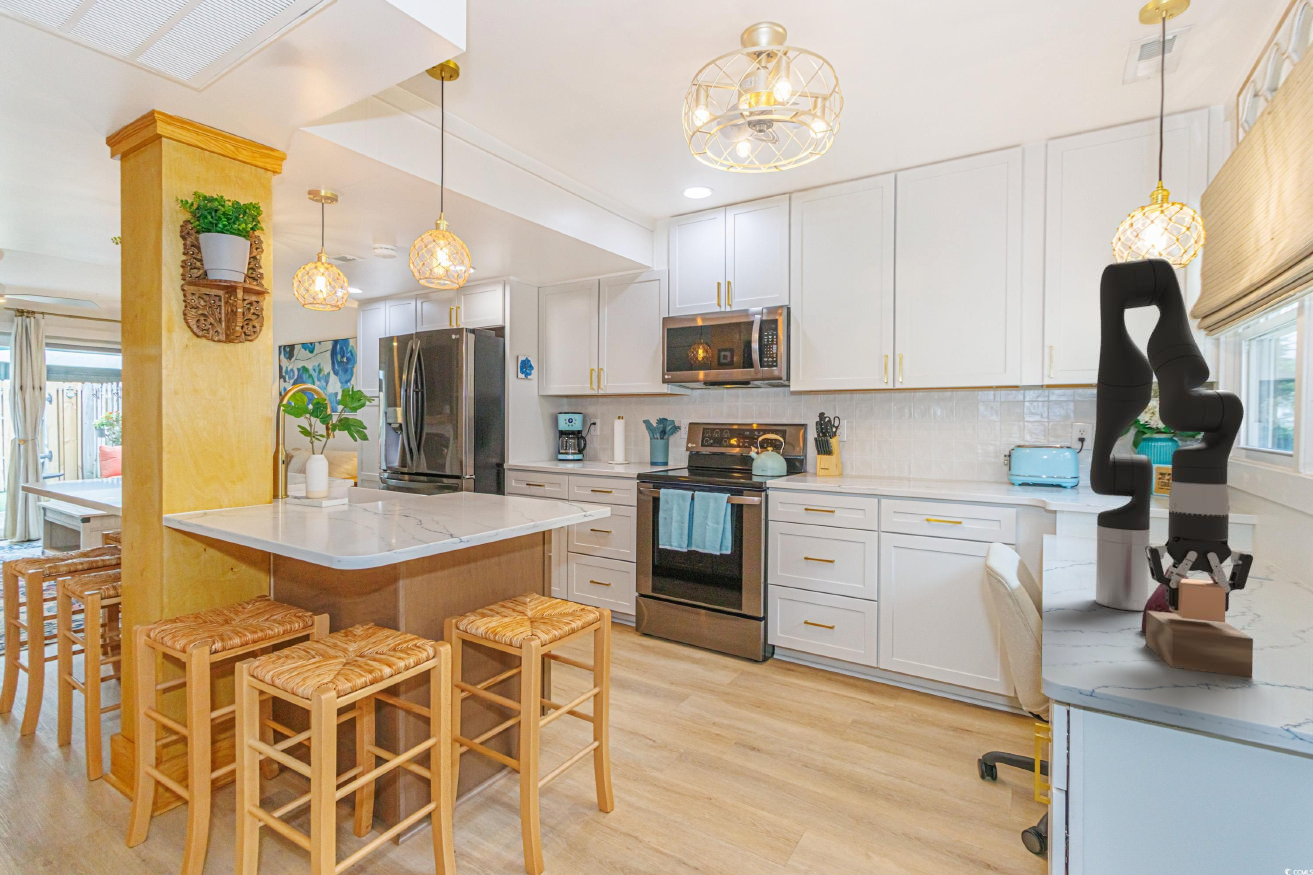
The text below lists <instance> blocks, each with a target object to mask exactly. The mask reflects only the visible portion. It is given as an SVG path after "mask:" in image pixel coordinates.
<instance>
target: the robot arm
mask: <svg viewBox="0 0 1313 875" xmlns="http://www.w3.org/2000/svg"><path fill="white" fill-rule="evenodd" d="M1152 306H1155V307H1156V308H1157V309H1158V311H1159V316H1158V319H1157V322H1156V324H1155V326H1154V329H1153V330H1152V332H1151V334H1150V336H1149V339H1148V342H1147V345H1146V355H1147V356H1146V355H1145V354H1144V352H1143V351H1142V350H1141V349H1140V348H1139V347H1138V345H1137V344H1136V343H1135V342H1134V340H1133V339H1132V336H1131V335H1130V334H1129V331H1128V329H1127V326H1126V320H1125V312H1126V310H1129V309H1137V308H1138V309H1139V308H1145V307H1152ZM1099 311H1100V316H1099V317H1100V347H1099V348H1100V350H1099V359H1098V360H1099V361H1098V372H1097V381H1096V403H1095V404H1096V405H1095V408H1096V412H1095V413H1096V415H1095V416H1096V418H1095V419H1096V420H1095V432H1094V438H1093V441H1094V442H1093V448H1092V453H1091V454H1092V455H1091V463H1090V471H1089V482H1090V488H1091V490H1092V491H1093V492H1094V493H1095V494H1096V495H1100V496H1113V497H1115V496H1116V497H1131V499H1130V501H1129V502H1127V503H1126V504H1123V505H1122V506H1120V507H1117V508H1111V509H1107V510H1104V511H1100V512H1099V513H1098V514H1097V517H1096V522H1097V523H1096V568H1095V569H1096V576H1095V577H1096V579H1095V602H1096V603H1097V604H1098V605H1099V604H1100V605H1102V606H1105V607H1108V608H1112V609H1113V608H1114V609H1118V610H1123V611H1124V610H1126V611H1144V607H1145V605H1146V603H1147V601H1148V599H1149V592H1150V591H1149V587H1150V586H1149V584H1150V581H1149V578H1150V576H1151V579H1152V580H1154V581H1156V582H1157V583H1159V584H1160V583H1162V584H1164V585H1165V587H1166V591H1165V595H1166V596H1165V602H1166V604H1167V605H1169V606H1170V608H1171V609H1172V610H1177V611H1178V604H1179V589H1178V586H1179V583H1180V582H1181V580H1182V578H1183V577H1185V576H1186V575H1187V574H1188V572H1197V571H1199V572H1200V571H1201V572H1203V573H1207V575H1208V576H1209V578H1210V579H1211V580H1210V581H1211V582H1213V583H1215V584H1218V585H1219V586H1222V587H1224V588H1226V600H1225V613H1226V612H1228V610H1230V609H1229V608H1230V605H1229V604H1230V603H1229V602H1230V593H1231V592H1233V591H1237V590H1239V591H1241V590H1244V589H1245V588H1246V583H1247V581H1248V578H1249V577H1248V576H1249V574H1250V570H1251V568H1252V565H1253V564H1252V563H1253V561H1254V556H1253V555H1252V554H1251V553H1247V552H1244V551H1236V550H1235V551H1234V550H1232V549H1231V547H1230V546H1229V522H1230V521H1229V519H1230V518H1229V517H1230V516H1229V515H1230V514H1229V513H1230V510H1231V508H1230V497H1229V490H1228V467H1229V466H1228V464H1229V463H1228V461H1229V457H1230V454H1231V452H1232V449H1233V446H1234V443H1235V441H1236V438H1237V436H1238V433H1239V430H1240V428H1241V425H1242V422H1243V420H1244V411H1245V410H1244V406H1243V402H1242V400H1241V399H1240V397H1239V396H1238V395H1237V394H1235V393H1234V392H1232V391H1230V390H1224V389H1223V390H1221V389H1219V390H1217V389H1216V390H1215V389H1212V390H1209V389H1208V390H1206V389H1201V390H1199V389H1197V388H1199V387H1201V386H1203V385H1204V384H1205V383H1206V382H1207V381H1208V380H1209V378H1210V375H1211V372H1210V369H1209V365H1208V364H1207V362H1206V359H1205V358H1204V356H1203V354H1202V352H1201V350H1200V348H1199V346H1198V344H1197V342H1196V339H1195V338H1194V336H1193V333H1192V330H1191V327H1190V323H1189V318H1188V314H1187V309H1186V305H1185V301H1184V297H1183V294H1182V289H1181V287H1180V282H1179V278H1178V276H1177V272H1176V270H1175V268H1174V266H1173V264H1172V263H1171V261H1169V259H1167V258H1166V257H1161V256H1159V257H1157V256H1156V257H1155V256H1154V257H1147V258H1146V257H1145V258H1140V259H1134V260H1126V261H1120V262H1115V263H1110V264H1108V265H1106V267H1105V268H1104V269H1103V271H1102V273H1101V277H1100V283H1099ZM1154 376H1155V378H1156V381H1157V385H1158V386H1157V387H1158V417H1159V420H1160V422H1161V423H1162V425H1164V427H1166V429H1168V430H1170V431H1172V432H1177V433H1203V435H1202V437H1201V438H1200V440H1199V442H1198V443H1197V444H1195V445H1191V446H1190V445H1189V446H1184V447H1179V448H1176V449H1174V451H1173V453H1172V454H1171V455H1172V456H1171V473H1170V474H1171V476H1170V478H1171V482H1170V487H1169V488H1170V489H1169V494H1168V497H1169V498H1168V528H1167V529H1168V531H1167V533H1168V534H1167V535H1168V539H1167V541H1166V542H1165V544H1164V545H1159V546H1152V545H1150V527H1151V526H1150V525H1151V524H1150V523H1151V521H1150V520H1151V519H1150V518H1151V517H1150V515H1151V499H1152V498H1151V496H1152V495H1151V494H1152V487H1153V486H1152V485H1153V475H1154V474H1153V473H1154V472H1153V463H1152V460H1151V458H1150V457H1149V456H1147V455H1145V454H1126V453H1123V454H1121V453H1112V452H1113V449H1114V448H1115V445H1116V443H1118V442H1117V441H1118V440H1119V438H1121V436H1122V434H1123V433H1125V431H1126V430H1127V429H1128V428H1129V427H1130V426H1131V425H1132V424H1133V423H1134V422H1135V421H1136V420H1137V419H1138V418H1139V417H1140V416H1141V415H1142V414H1143V413H1144V412H1145V410H1146V409H1147V407H1148V406H1149V404H1150V403H1151V400H1152V393H1153V383H1154ZM1166 553H1167V555H1169V557H1170V558H1171V559H1172V560H1173V561H1172V562H1171V564H1170V565H1171V566H1170V565H1169V566H1170V568H1169V572H1168V574H1167V576H1166V577H1165V576H1164V575H1165V572H1164V568H1163V563H1162V560H1163V559H1164V558H1165V554H1166ZM1228 558H1230V563H1232V568H1231V571H1230V574H1229V578H1228V580H1227V575H1226V573H1225V571H1224V570H1223V567H1222V565H1223V564H1224V563H1225V561H1227V559H1228ZM1176 565H1177V566H1176Z"/></svg>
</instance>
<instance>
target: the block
mask: <svg viewBox="0 0 1313 875" xmlns="http://www.w3.org/2000/svg"><path fill="white" fill-rule="evenodd" d="M1178 589H1179V604H1178V611H1177V610H1172V609H1171V608H1170V606H1169V610H1171V611H1172V612H1174V613H1175V614H1177V615H1178V616H1180V617H1181V618H1186V619H1196V620H1205V621H1215V622H1226V611H1225V600H1226V588H1224V587H1222V586H1219V585H1218V584H1215V583H1213V582H1212V580H1204V579H1203V580H1202V579H1190V578H1189V579H1182V580H1181V582H1180V583H1179V586H1178Z"/></svg>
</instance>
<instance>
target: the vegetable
mask: <svg viewBox="0 0 1313 875" xmlns="http://www.w3.org/2000/svg"><path fill="white" fill-rule="evenodd" d="M1170 566H1171V564H1170V565H1169V566H1168V567H1167V568H1166V571H1165V572H1164V576H1165V577H1166V576H1167V574H1168V572H1169V568H1170ZM1176 566H1177V565H1176ZM1182 579H1190V578H1189V577H1188V575H1187V574H1186V576H1185V577H1183V578H1182ZM1165 591H1166V587H1165V585H1164V584H1162V583H1159V585H1158V586H1156V589H1155V590H1153V593H1152V594H1151V595H1150V596H1149V597H1148V601H1147V603H1146V605H1145V607H1144V610H1142V616H1141V618H1142V619H1141V632H1142V633H1144V634H1146V611H1156V612H1166V613H1174V612H1172V611H1171V610H1169V605H1167V604H1166V602H1165V596H1166V595H1165Z"/></svg>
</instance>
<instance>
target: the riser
mask: <svg viewBox="0 0 1313 875" xmlns="http://www.w3.org/2000/svg"><path fill="white" fill-rule="evenodd" d="M1145 645H1146V646H1147V647H1148V648H1150V649H1151V650H1152V651H1153V652H1154V653H1155V654H1156V655H1158V657H1160V658H1161V659H1162V660H1163V661H1164V662H1166V663H1167V664H1168V665H1169V666H1170V667H1171V668H1175V669H1176V668H1177V669H1182V668H1184V670H1190V669H1192V671H1193V670H1194V671H1198V670H1199V671H1200V672H1206V671H1210V672H1209V673H1214V672H1216V674H1217V673H1218V674H1223V675H1231V676H1240V677H1246V678H1247V677H1248V678H1253V658H1254V657H1253V656H1254V655H1253V654H1254V653H1253V651H1254V648H1253V647H1254V646H1253V645H1254V639H1253V637H1251V636H1249V635H1248V634H1246V633H1244V632H1242V631H1240V630H1239V629H1238V628H1236V627H1234V626H1232V625H1230V624H1229V623H1227V622H1226V621H1225V622H1215V621H1205V620H1196V619H1186V618H1181V617H1180V616H1178V615H1177V614H1175V613H1166V612H1156V611H1146V633H1145ZM1199 671H1198V672H1199Z"/></svg>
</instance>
